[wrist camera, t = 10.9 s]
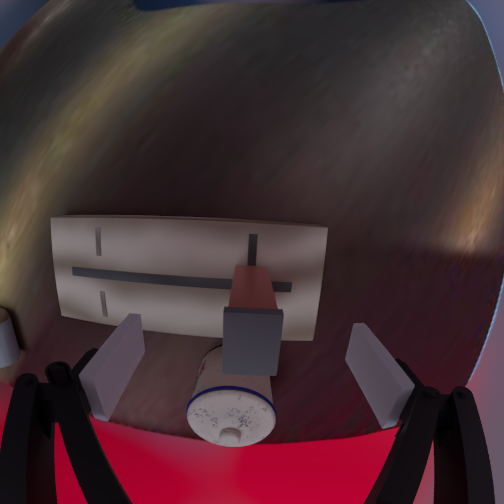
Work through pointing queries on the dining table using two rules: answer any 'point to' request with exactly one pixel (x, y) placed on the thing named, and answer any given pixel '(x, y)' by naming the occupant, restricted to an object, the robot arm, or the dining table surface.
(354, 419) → the dining table surface
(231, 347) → the fader tab
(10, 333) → the ceramic mug
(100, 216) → the panel
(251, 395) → the teacup with lid
